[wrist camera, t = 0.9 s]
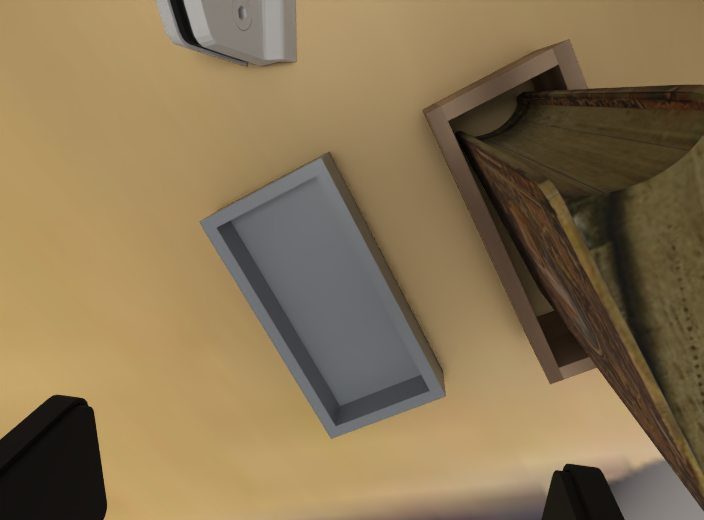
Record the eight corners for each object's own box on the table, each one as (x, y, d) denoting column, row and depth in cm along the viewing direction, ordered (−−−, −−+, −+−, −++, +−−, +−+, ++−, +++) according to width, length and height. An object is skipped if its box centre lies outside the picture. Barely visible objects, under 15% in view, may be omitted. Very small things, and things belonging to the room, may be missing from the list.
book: (608, 271, 41) (900, 509, 17) (546, 301, 42) (736, 563, 18) (517, 91, 37) (727, 79, 14) (452, 131, 38) (539, 182, 15)
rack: (535, 50, 36) (569, 39, 29) (630, 292, 41) (680, 337, 34) (422, 109, 38) (426, 113, 31) (525, 333, 43) (550, 384, 36)
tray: (329, 151, 40) (321, 157, 36) (442, 370, 45) (446, 396, 41) (217, 210, 43) (199, 222, 39) (337, 411, 48) (331, 438, 44)
